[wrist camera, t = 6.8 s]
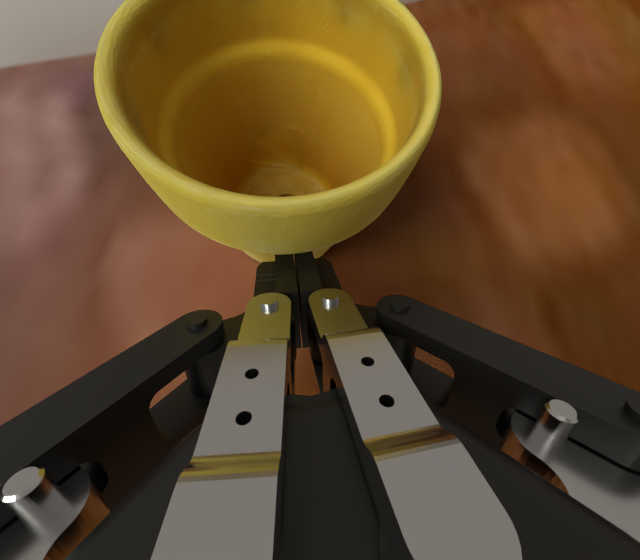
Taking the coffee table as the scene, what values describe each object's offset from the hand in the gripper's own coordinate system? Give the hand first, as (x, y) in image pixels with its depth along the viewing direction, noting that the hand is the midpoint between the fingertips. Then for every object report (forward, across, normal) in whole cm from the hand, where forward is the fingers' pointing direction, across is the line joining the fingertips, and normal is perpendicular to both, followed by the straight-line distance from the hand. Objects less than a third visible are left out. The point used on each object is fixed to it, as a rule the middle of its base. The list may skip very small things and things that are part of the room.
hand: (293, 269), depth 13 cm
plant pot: (+7, 0, 0) cm, 7 cm away
